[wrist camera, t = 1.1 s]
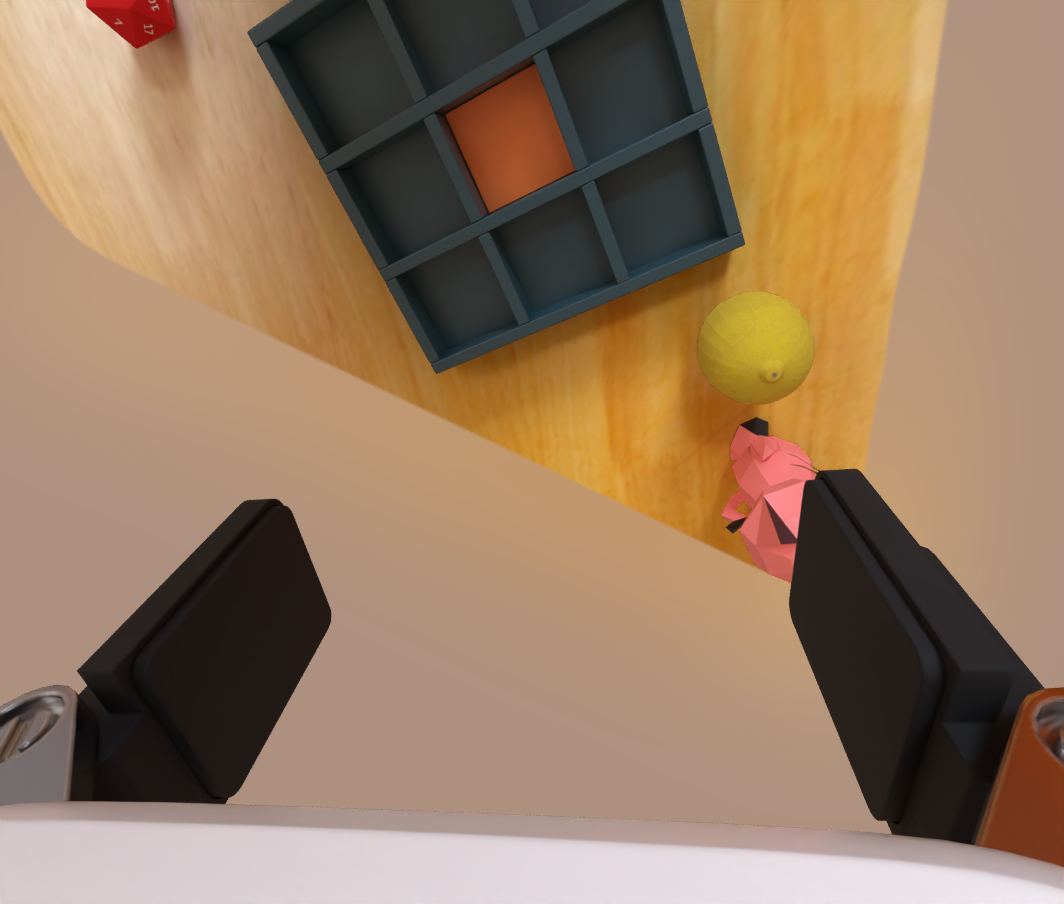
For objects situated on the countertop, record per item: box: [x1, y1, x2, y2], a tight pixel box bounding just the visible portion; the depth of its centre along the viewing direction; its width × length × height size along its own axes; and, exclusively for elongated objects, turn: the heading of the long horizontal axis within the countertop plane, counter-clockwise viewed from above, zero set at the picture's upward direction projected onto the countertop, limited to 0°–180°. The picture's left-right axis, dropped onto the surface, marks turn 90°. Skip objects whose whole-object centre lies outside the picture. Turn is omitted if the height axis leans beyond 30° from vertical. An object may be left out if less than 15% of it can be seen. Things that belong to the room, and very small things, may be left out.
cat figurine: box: [721, 417, 819, 583], centre depth 31 cm, size 7×7×12 cm
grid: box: [247, 0, 745, 374], centre depth 28 cm, size 18×18×2 cm
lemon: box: [697, 291, 814, 404], centre depth 29 cm, size 6×6×8 cm
